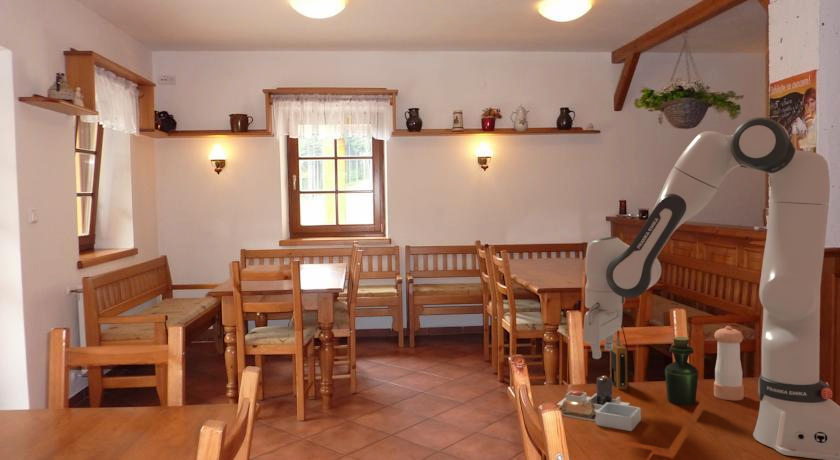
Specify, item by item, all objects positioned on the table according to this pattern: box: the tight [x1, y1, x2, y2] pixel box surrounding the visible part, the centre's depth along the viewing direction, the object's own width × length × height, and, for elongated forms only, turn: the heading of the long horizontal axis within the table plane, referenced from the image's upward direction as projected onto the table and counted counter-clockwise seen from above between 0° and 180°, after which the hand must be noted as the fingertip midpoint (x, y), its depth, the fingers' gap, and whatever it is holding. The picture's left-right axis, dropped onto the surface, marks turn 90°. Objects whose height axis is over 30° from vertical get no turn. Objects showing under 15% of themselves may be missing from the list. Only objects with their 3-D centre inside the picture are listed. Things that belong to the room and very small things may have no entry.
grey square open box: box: [595, 402, 642, 432], centre depth 151 cm, size 8×8×4 cm
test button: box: [570, 389, 583, 396], centre depth 167 cm, size 3×3×2 cm
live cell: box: [561, 400, 596, 419], centre depth 157 cm, size 8×4×4 cm, turn 56°
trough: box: [558, 405, 596, 423], centre depth 157 cm, size 11×6×2 cm, turn 56°
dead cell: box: [596, 375, 613, 405], centre depth 162 cm, size 4×4×8 cm
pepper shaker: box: [713, 325, 745, 401], centre depth 172 cm, size 7×7×19 cm
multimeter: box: [607, 324, 630, 393], centre depth 179 cm, size 15×10×20 cm
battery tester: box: [556, 390, 631, 411], centre depth 164 cm, size 16×10×4 cm, turn 56°
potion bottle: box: [664, 336, 699, 407], centre depth 164 cm, size 8×8×18 cm
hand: (602, 354), depth 162 cm, fingers open, 8 cm apart
